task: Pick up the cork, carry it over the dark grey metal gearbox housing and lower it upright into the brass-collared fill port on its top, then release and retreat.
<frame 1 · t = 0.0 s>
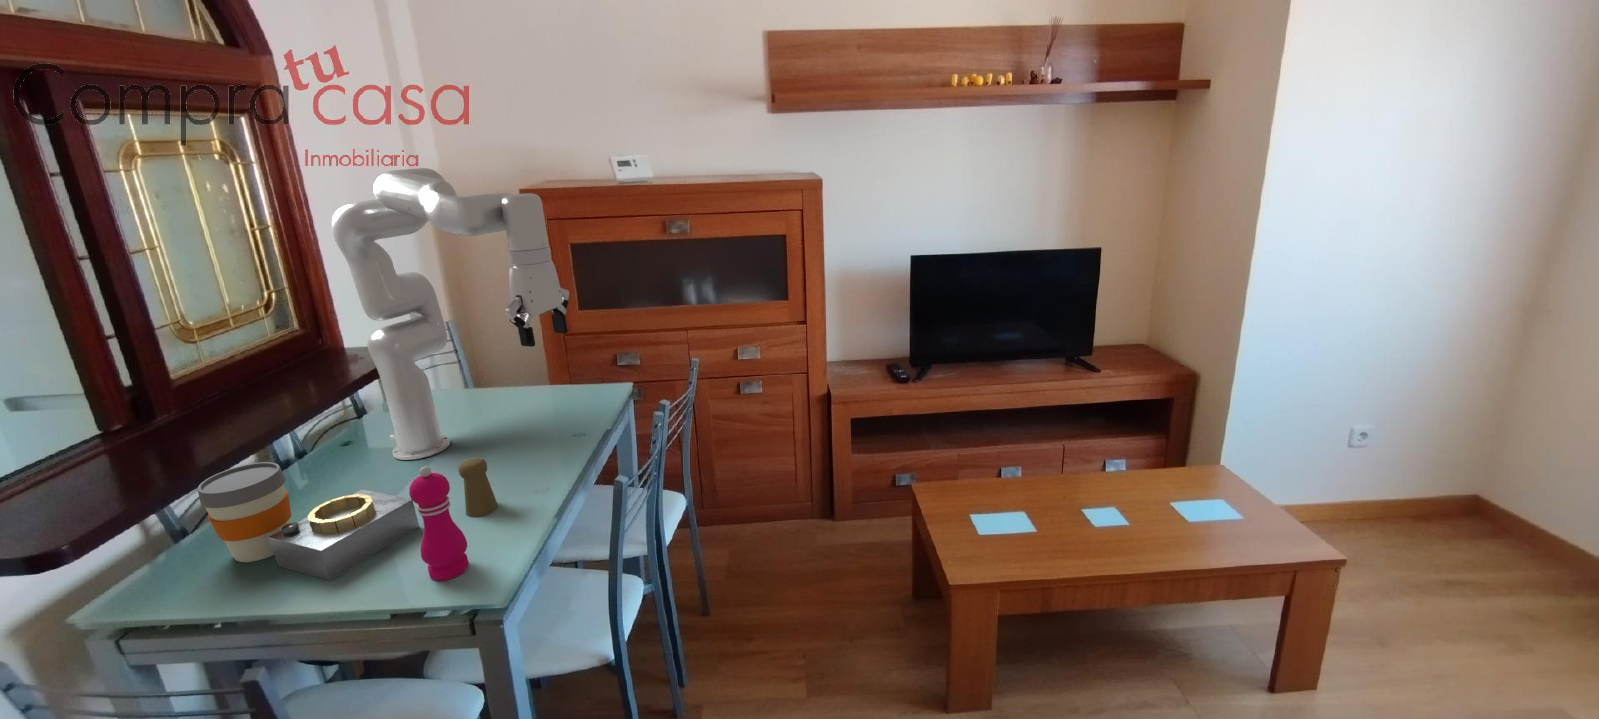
hand: (545, 339, 144), 31 cm above the table, fingers open, 9 cm apart
reusable coffee cup: (264, 549, 131), on the table
pepper mill: (449, 571, 121), on the table
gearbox: (351, 545, 130), on the table
cork: (482, 510, 141), on the table
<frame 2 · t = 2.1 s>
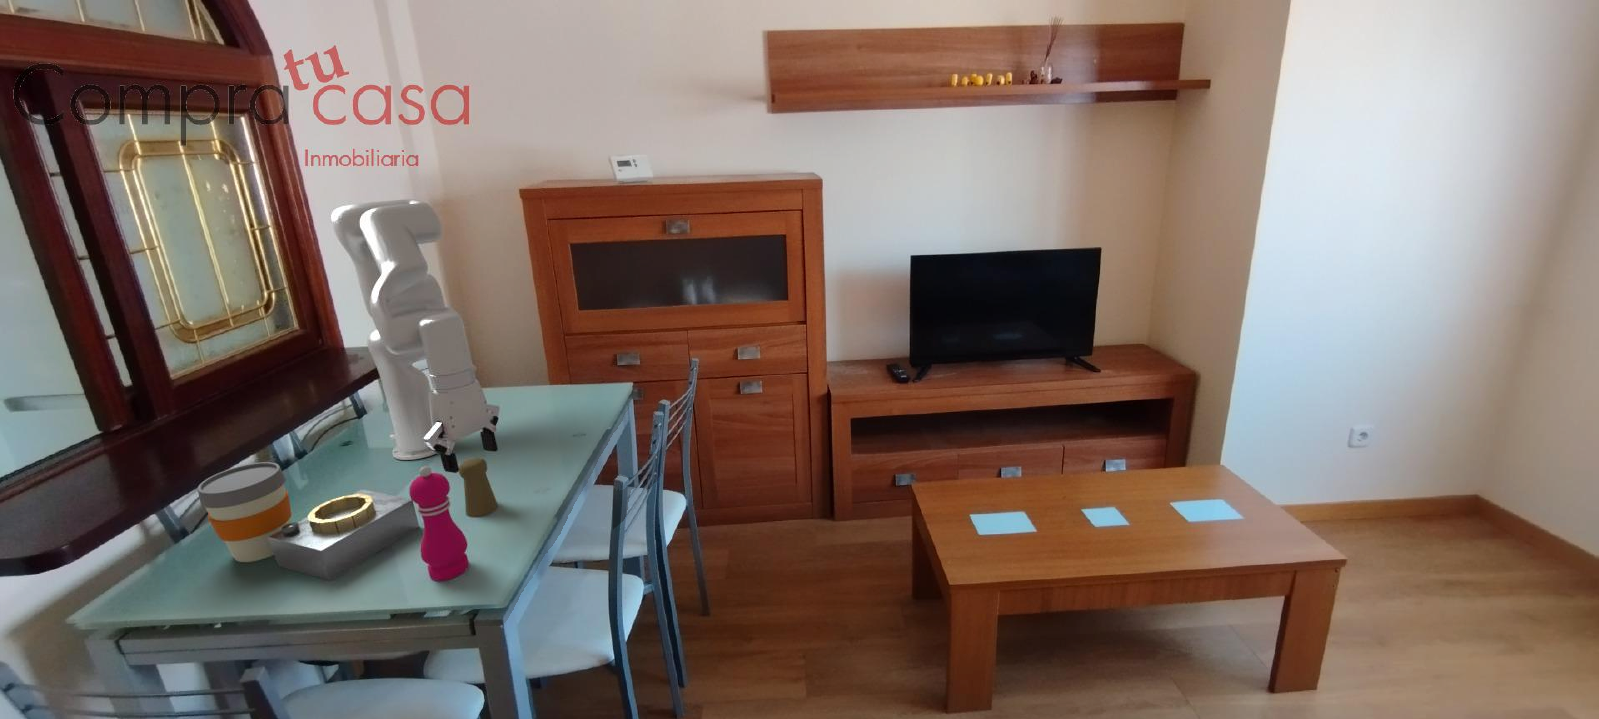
hand: (472, 460, 137), 11 cm above the table, fingers open, 9 cm apart
nothing on the table moved.
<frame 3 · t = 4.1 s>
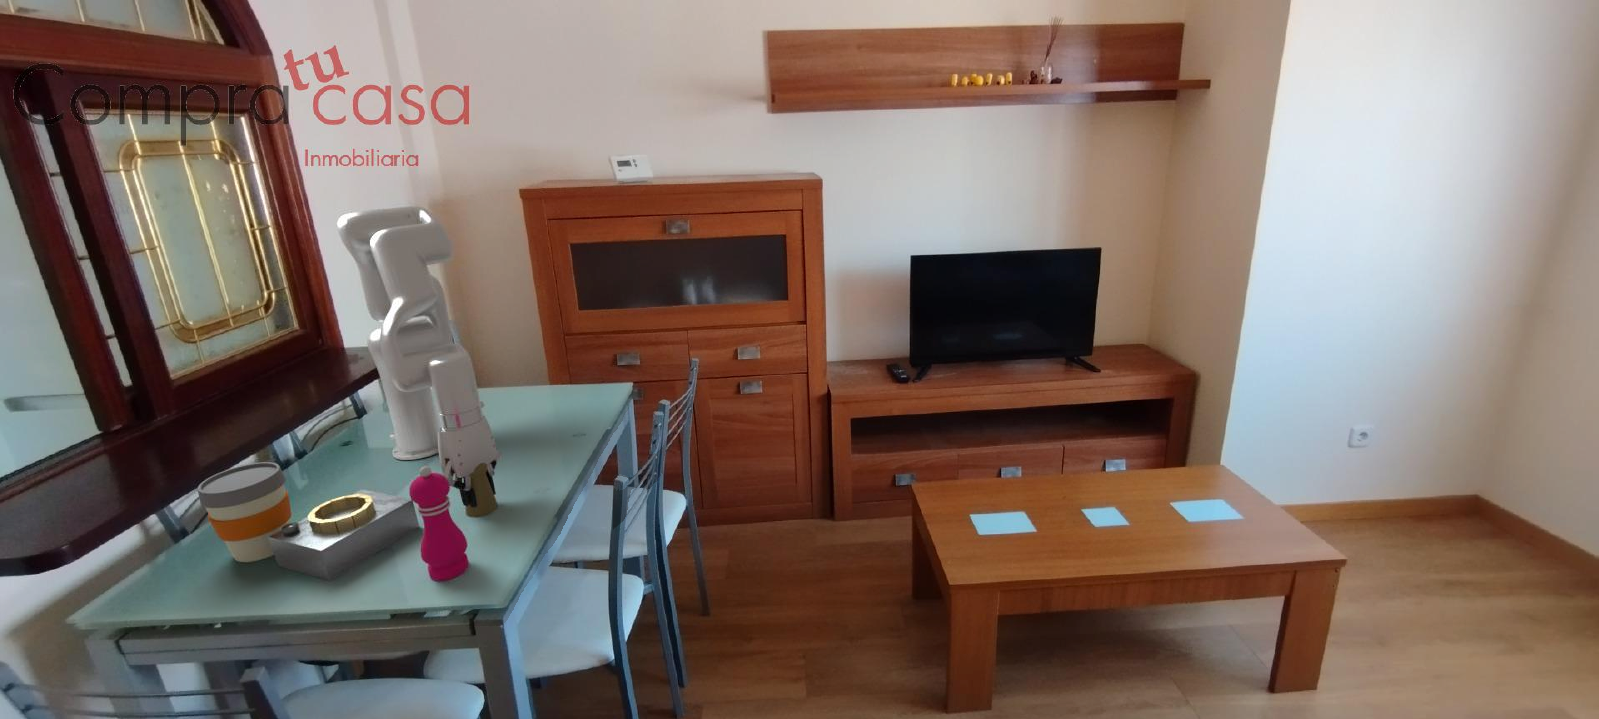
hand: (479, 499, 140), 2 cm above the table, fingers closed on cork, 4 cm apart
cork: (482, 510, 141), on the table, touching gripper
everything else where it was.
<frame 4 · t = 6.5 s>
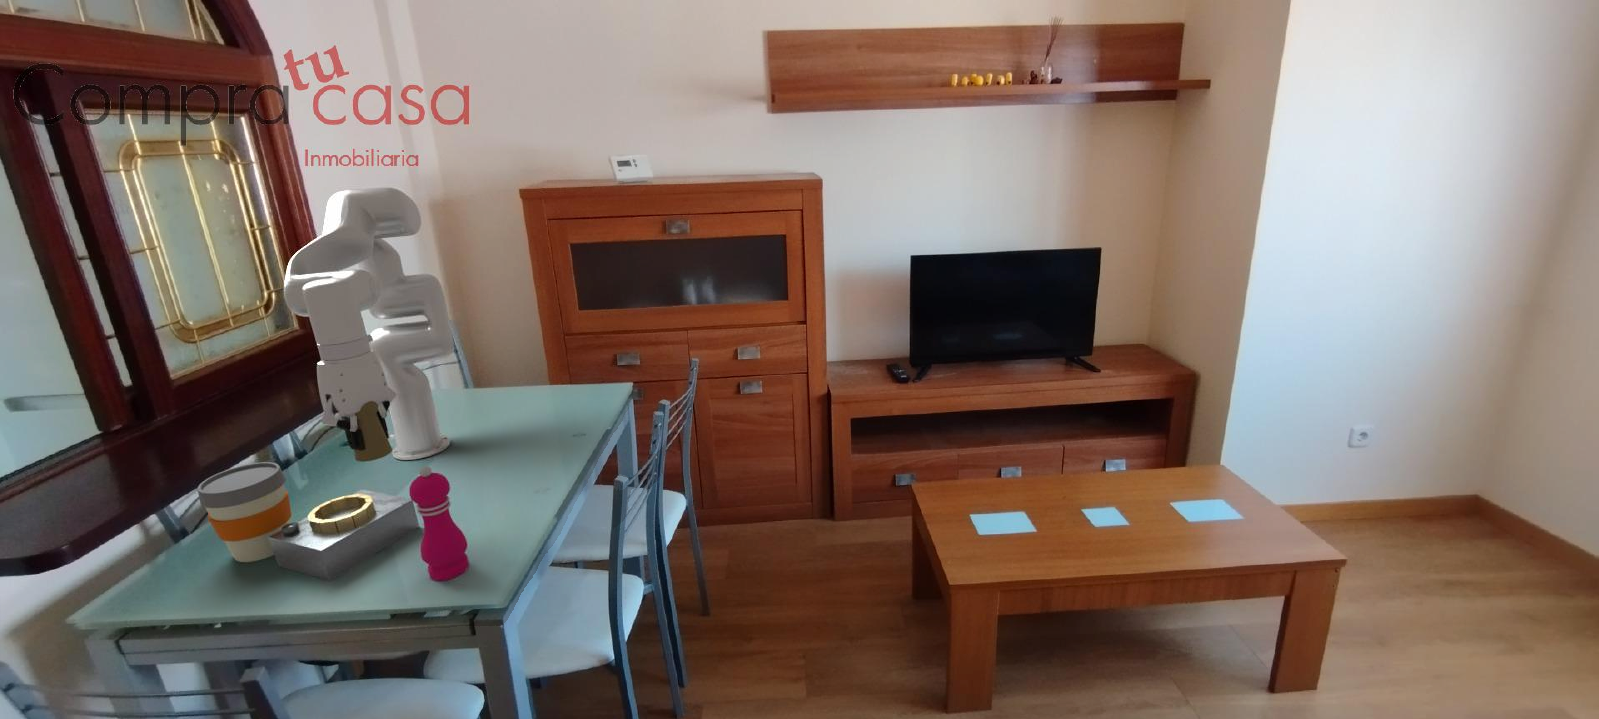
hand: (370, 442, 128), 19 cm above the table, fingers closed on cork, 4 cm apart
cork: (374, 455, 129), point 17 cm above the table, touching gripper
everything else where it was.
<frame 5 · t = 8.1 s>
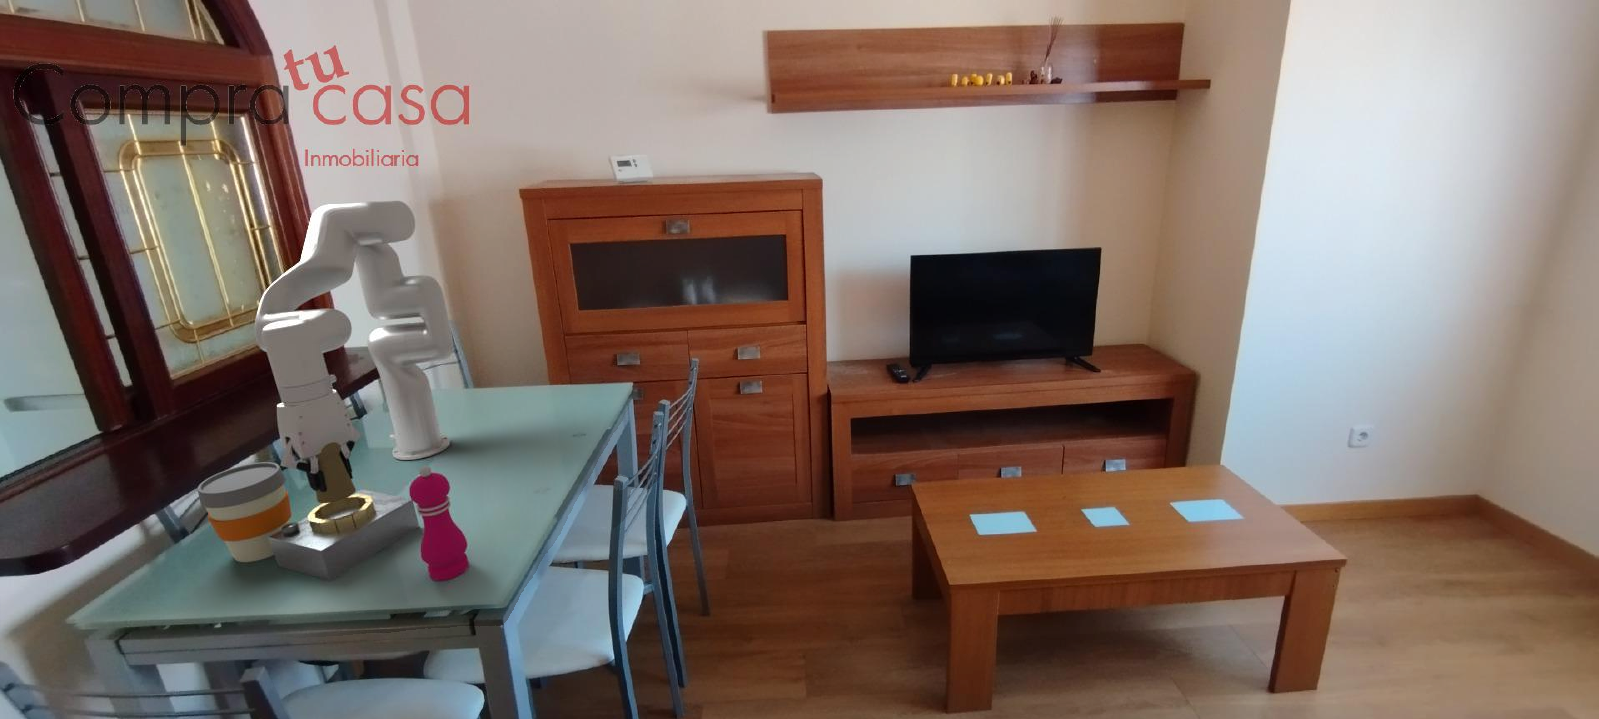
hand: (333, 483, 126), 13 cm above the table, fingers closed on cork, 4 cm apart
cork: (337, 495, 127), point 11 cm above the table, touching gripper
everything else where it was.
when the fingers open (10 cm above the table, at t = 9.4 s): cork drops 1 cm, resting on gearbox.
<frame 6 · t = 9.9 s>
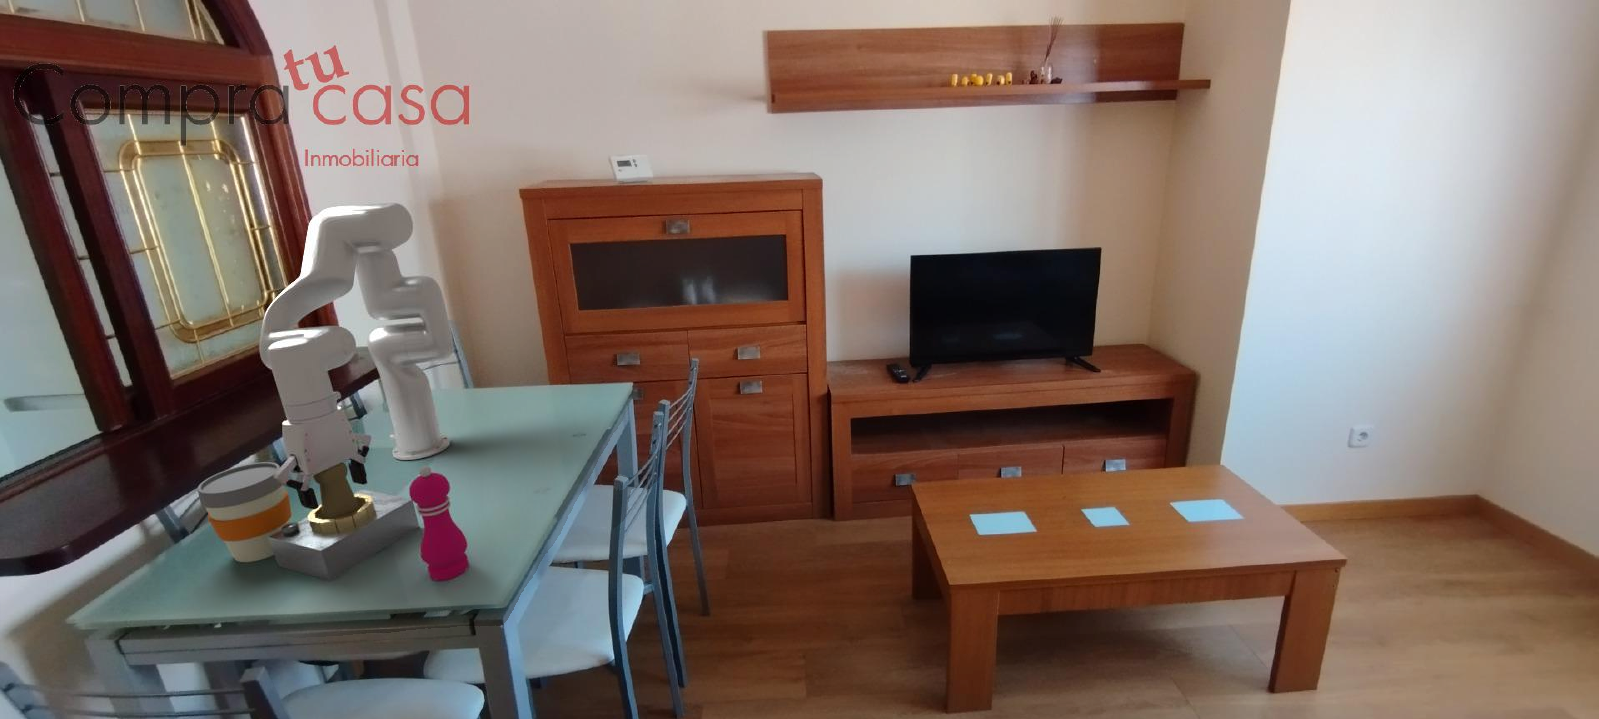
hand: (336, 494, 127), 11 cm above the table, fingers open, 9 cm apart
cork: (343, 518, 129), point 6 cm above the table, touching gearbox
everything else where it was.
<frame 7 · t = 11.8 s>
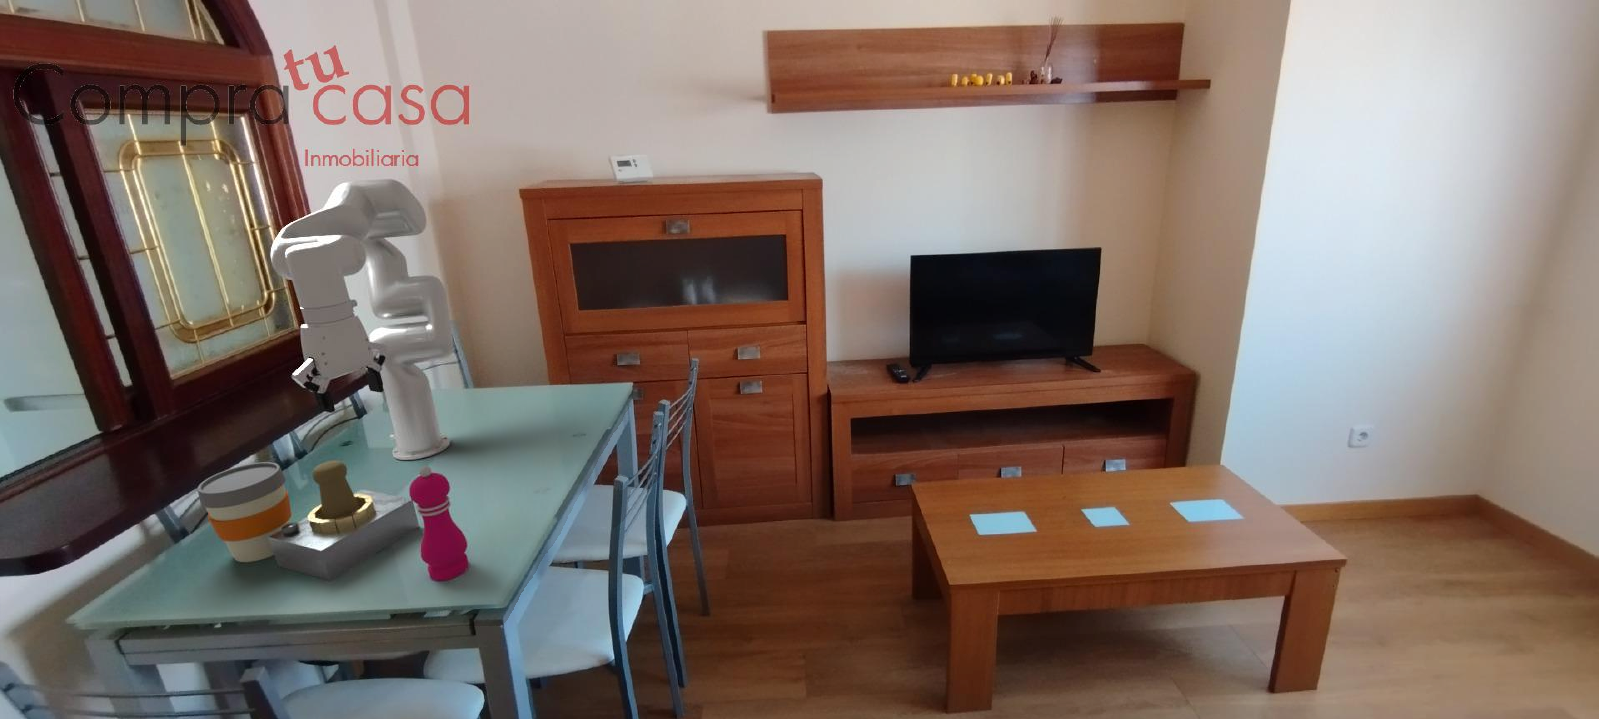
hand: (353, 400, 130), 26 cm above the table, fingers open, 9 cm apart
nothing on the table moved.
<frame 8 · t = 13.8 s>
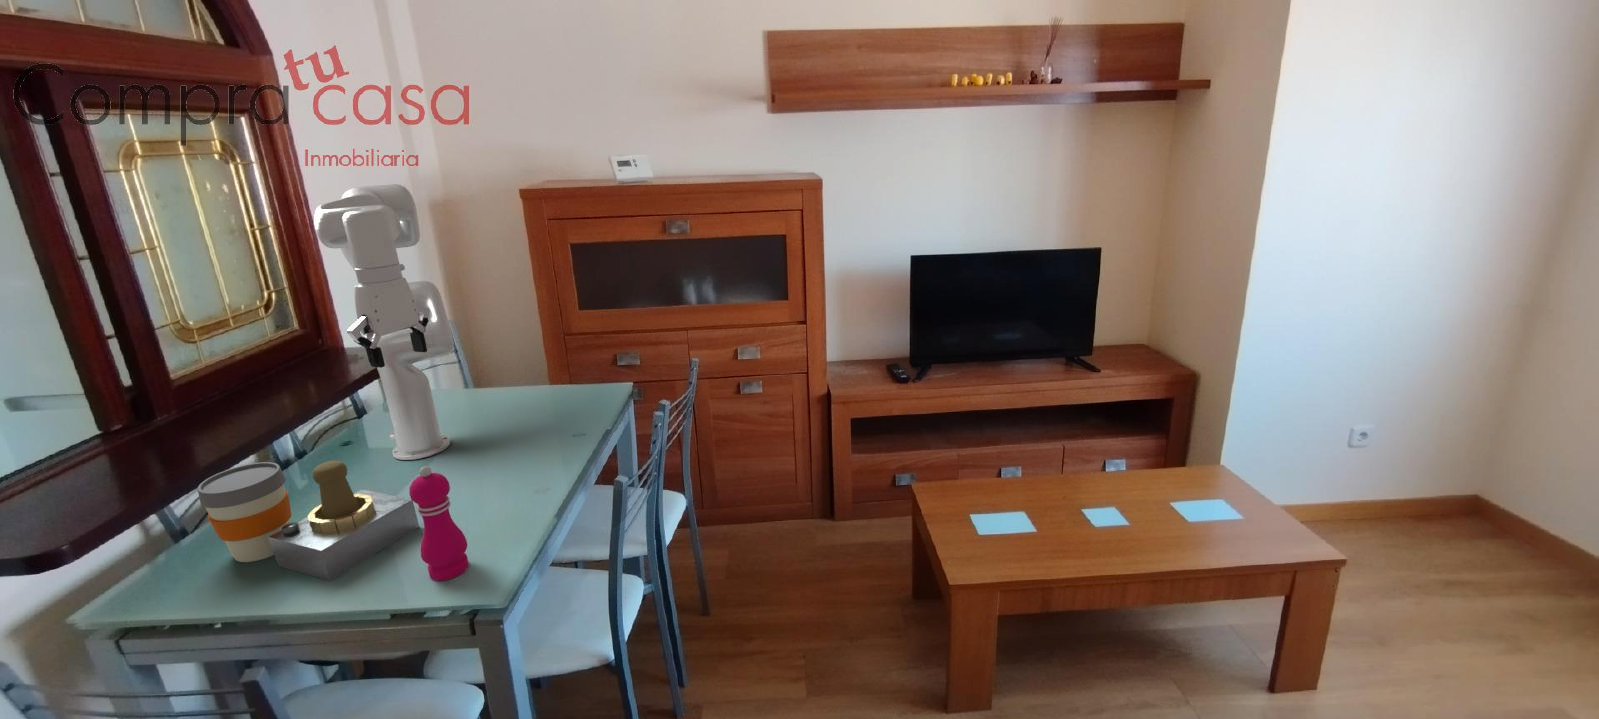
hand: (400, 358, 139), 30 cm above the table, fingers open, 9 cm apart
nothing on the table moved.
at the end: cork 0.0 cm off-centre on the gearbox, point 5.8 cm above the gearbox's base; cork tilted 0°; the gripper is holding nothing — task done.
